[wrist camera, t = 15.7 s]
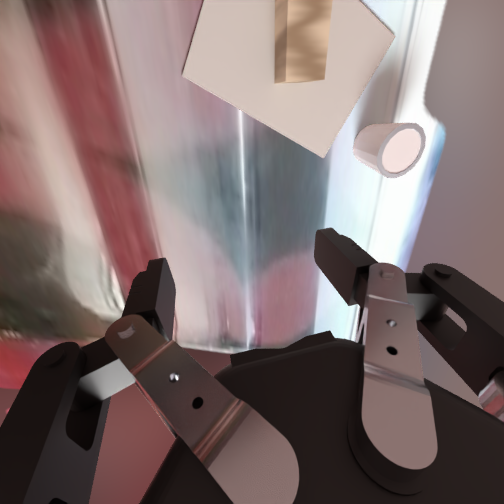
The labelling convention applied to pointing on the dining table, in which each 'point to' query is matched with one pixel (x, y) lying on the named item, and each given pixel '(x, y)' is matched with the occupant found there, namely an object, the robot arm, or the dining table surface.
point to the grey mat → (263, 67)
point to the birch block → (301, 40)
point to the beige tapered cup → (390, 147)
